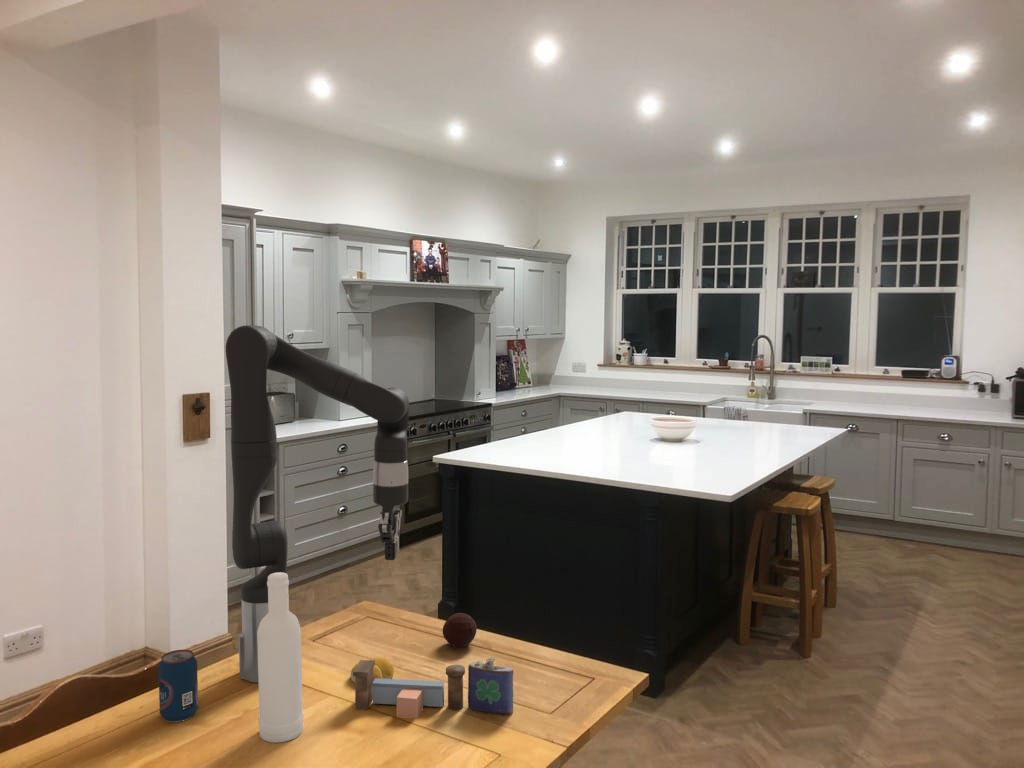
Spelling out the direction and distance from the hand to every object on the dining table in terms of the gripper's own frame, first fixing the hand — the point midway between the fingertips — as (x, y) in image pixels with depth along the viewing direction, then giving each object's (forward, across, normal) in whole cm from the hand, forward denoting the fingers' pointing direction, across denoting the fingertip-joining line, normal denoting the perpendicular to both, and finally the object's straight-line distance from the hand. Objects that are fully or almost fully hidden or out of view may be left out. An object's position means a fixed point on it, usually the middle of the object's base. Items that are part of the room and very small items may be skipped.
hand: (390, 558), depth 176 cm
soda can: (+25, -24, +36) cm, 50 cm away
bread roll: (+25, -5, +3) cm, 26 cm away
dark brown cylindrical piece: (+24, -17, -17) cm, 34 cm away
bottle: (+24, -29, +14) cm, 41 cm away
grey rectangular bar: (+24, -17, -7) cm, 30 cm away
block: (+24, -20, -8) cm, 32 cm away
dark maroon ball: (+25, +13, -14) cm, 31 cm away
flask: (+24, -18, -24) cm, 38 cm away
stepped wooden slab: (+24, -17, +1) cm, 30 cm away
